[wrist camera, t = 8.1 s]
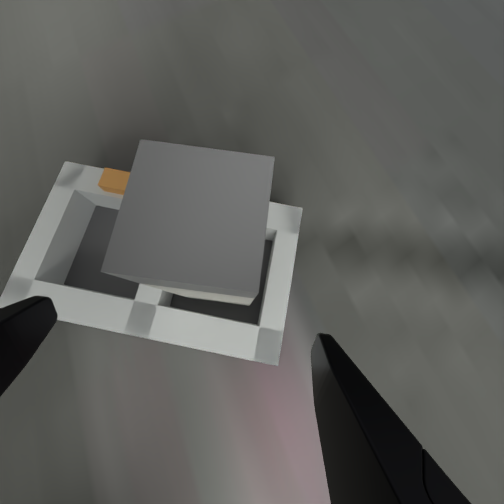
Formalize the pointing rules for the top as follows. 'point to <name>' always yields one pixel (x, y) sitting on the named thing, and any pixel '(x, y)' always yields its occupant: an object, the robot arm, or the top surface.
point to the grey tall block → (193, 222)
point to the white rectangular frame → (138, 295)
